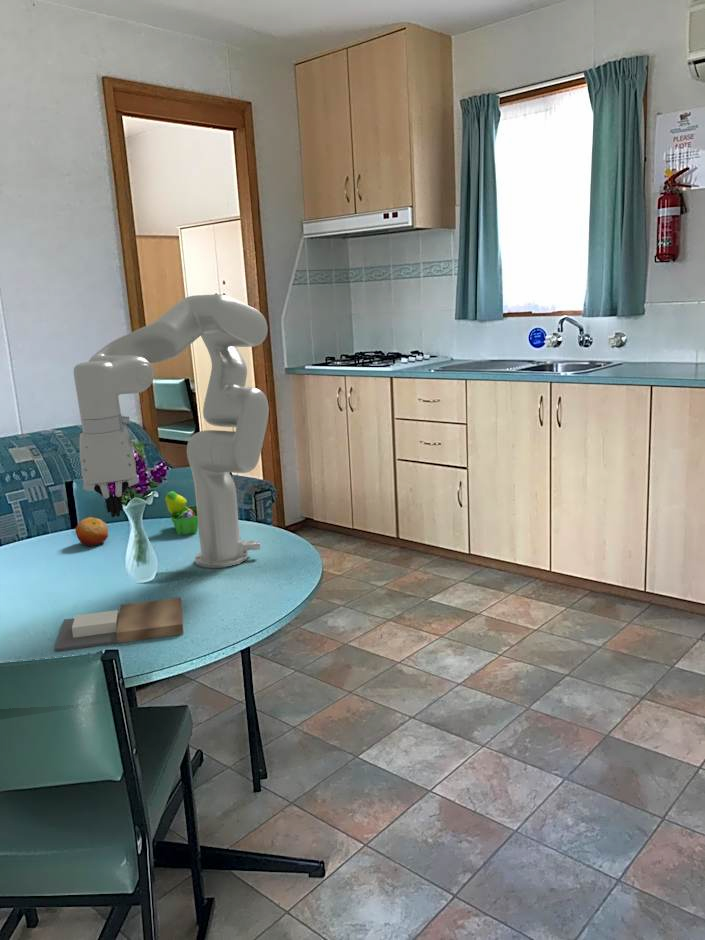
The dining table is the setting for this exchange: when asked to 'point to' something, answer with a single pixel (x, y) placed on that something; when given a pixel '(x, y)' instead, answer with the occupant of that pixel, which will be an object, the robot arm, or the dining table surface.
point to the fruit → (91, 531)
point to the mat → (81, 638)
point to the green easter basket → (182, 514)
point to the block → (95, 623)
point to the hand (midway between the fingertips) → (116, 514)
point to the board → (149, 620)
